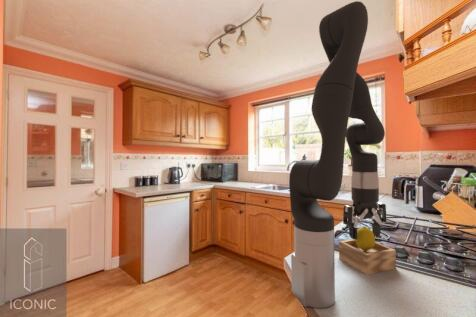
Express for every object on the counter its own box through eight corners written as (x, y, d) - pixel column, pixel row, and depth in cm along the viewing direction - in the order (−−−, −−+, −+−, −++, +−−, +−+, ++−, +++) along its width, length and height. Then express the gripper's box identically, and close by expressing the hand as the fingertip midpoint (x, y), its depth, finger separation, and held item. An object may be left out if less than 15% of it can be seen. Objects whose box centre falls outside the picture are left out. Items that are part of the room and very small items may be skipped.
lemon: (378, 255, 69) (377, 229, 69) (358, 254, 70) (357, 228, 70) (371, 248, 74) (370, 224, 74) (353, 247, 75) (352, 223, 75)
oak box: (366, 276, 65) (366, 255, 65) (339, 259, 76) (339, 241, 76) (395, 269, 68) (395, 250, 68) (365, 254, 79) (365, 237, 79)
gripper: (354, 188, 66) (355, 244, 67) (393, 186, 70) (393, 239, 70) (337, 185, 73) (337, 235, 74) (373, 183, 77) (373, 231, 77)
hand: (365, 237), depth 72 cm, fingers open, 8 cm apart
